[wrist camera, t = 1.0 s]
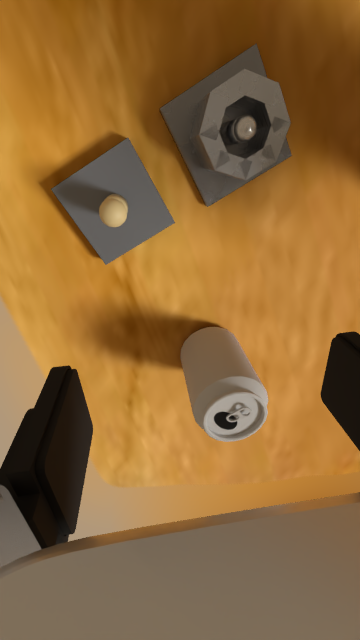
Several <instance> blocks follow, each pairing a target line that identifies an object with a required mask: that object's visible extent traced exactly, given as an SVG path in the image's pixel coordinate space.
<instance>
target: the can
mask: <svg viewBox="0 0 360 640" xmlns="http://www.w3.org/2000/svg"><path fill="white" fill-rule="evenodd" d="M180 358H181V363H182V367H183V371H184V376H185V380H186V385H187V389H188V393H189V398H190V402H191V407H192V411H193V415H194V418H195V421H196V422H197V424H198V425H199V426H200V427H201V428H202V429H204V431H205V432H206V433H207V434H208V435H209V436H210V437H212V438H214V439H216V440H220V441H226V442H228V441H237V440H241V439H244V438H247V437H248V436H250V435H252V434H254V433H255V432H256V431H257V430H258V429H260V428H261V426H262V425H263V423H264V422H265V420H266V417H267V413H268V411H267V403H268V396H267V391H266V390H265V388H264V386H263V384H262V383H261V381H260V379H259V377H258V376H257V374H256V372H255V370H254V369H253V367H252V365H251V363H250V362H249V360H248V358H247V356H246V354H245V353H244V351H243V349H242V347H241V346H240V344H239V342H238V340H237V339H236V337H235V336H234V334H232V333H231V332H230V331H228V330H227V329H223V328H220V327H207V328H203V329H200V330H198V331H196V332H195V333H193V334H191V335H190V336H189V337H188V338H187V339H186V341H185V342H184V344H183V346H182V348H181V355H180Z"/></svg>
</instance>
